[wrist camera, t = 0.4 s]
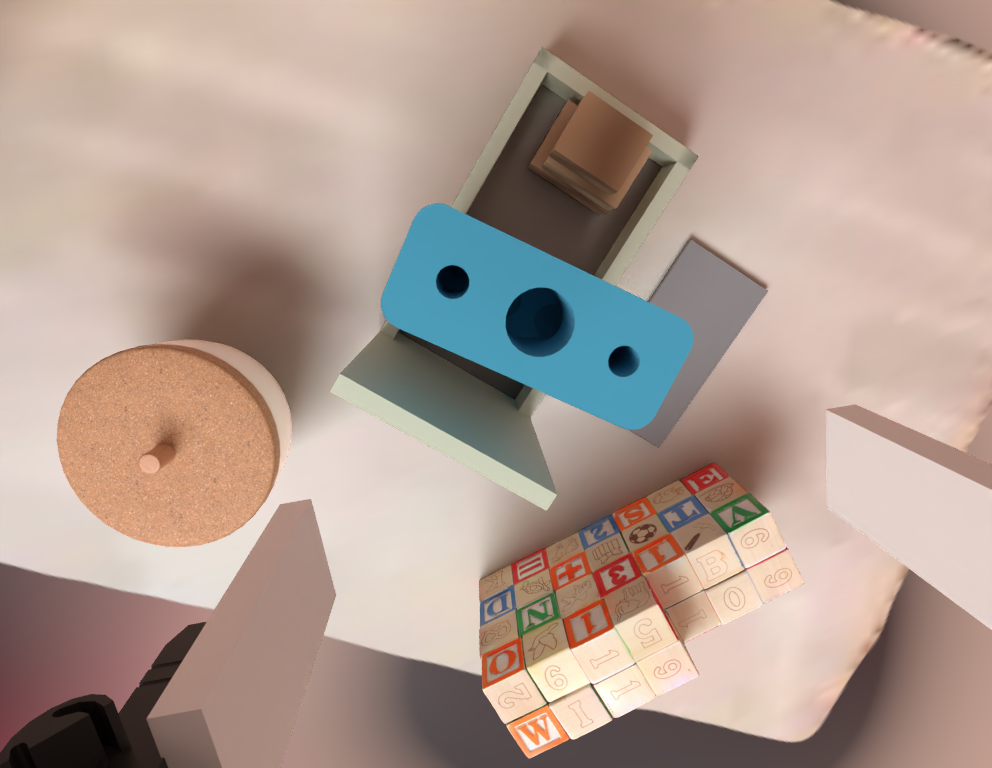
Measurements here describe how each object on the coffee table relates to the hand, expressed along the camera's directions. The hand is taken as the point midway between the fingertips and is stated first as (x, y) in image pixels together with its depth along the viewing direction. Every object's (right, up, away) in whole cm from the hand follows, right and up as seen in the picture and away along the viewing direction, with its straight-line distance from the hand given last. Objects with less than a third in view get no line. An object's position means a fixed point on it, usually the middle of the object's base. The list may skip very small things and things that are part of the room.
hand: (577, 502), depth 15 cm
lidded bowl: (-22, +1, +29) cm, 37 cm away
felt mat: (+11, +6, +29) cm, 32 cm away
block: (-1, +10, +28) cm, 30 cm away
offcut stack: (+4, +18, +26) cm, 32 cm away
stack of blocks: (+7, -11, +34) cm, 36 cm away
